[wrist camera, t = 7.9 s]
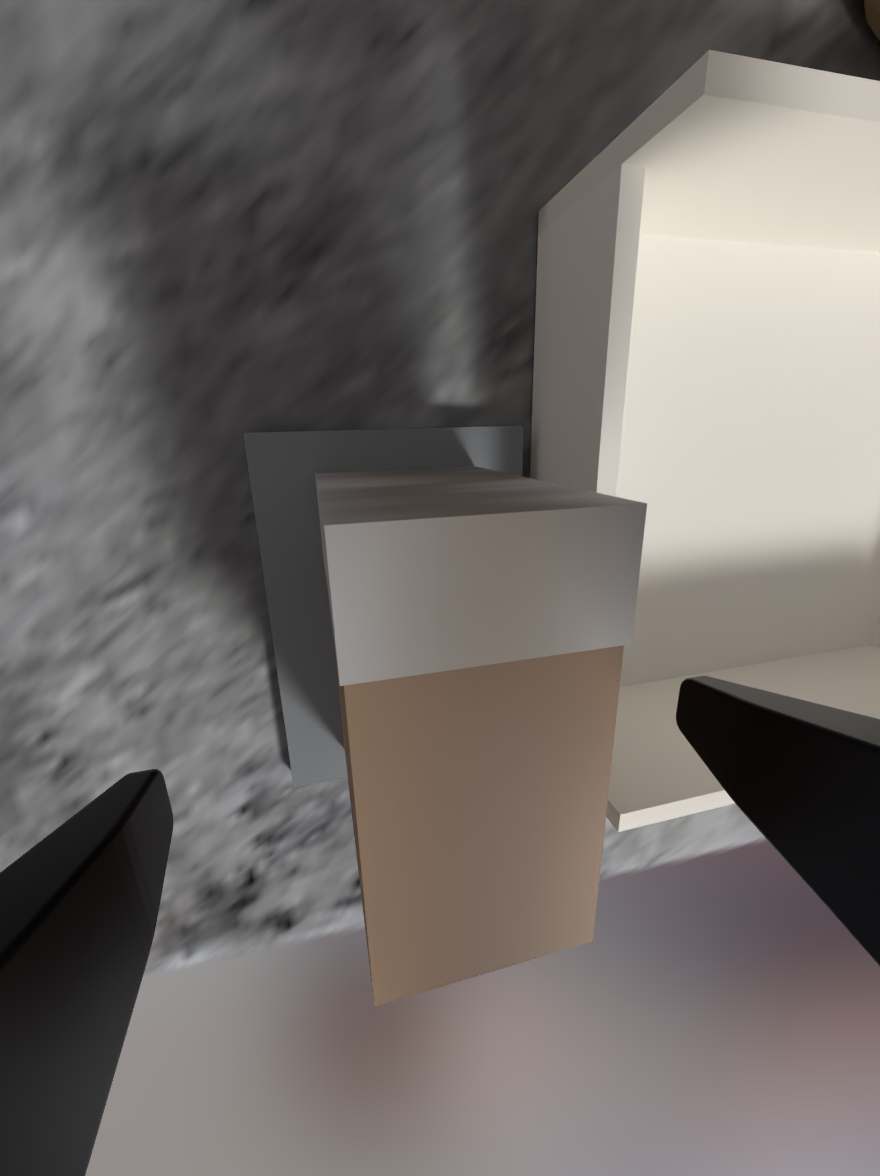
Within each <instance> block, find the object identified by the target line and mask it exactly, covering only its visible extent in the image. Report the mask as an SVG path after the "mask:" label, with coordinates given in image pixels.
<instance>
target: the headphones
mask: <svg viewBox="0 0 880 1176" xmlns="http://www.w3.org/2000/svg"><path fill="white" fill-rule="evenodd" d="M864 6H865V14H866V20H867V23H868V24H869V26H870V28H871V29H872V31H873V32H874V34H875V35H876V37H877V39H878V40H879V41H880V0H864Z"/></svg>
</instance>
